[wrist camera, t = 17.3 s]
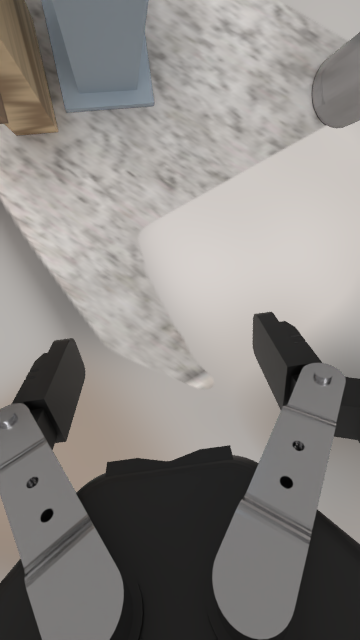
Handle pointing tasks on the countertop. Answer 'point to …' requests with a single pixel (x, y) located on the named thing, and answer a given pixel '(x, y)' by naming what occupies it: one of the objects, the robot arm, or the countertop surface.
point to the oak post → (23, 73)
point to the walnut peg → (2, 112)
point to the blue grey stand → (100, 53)
